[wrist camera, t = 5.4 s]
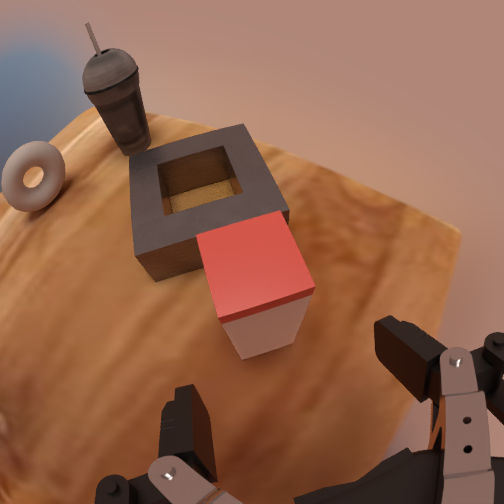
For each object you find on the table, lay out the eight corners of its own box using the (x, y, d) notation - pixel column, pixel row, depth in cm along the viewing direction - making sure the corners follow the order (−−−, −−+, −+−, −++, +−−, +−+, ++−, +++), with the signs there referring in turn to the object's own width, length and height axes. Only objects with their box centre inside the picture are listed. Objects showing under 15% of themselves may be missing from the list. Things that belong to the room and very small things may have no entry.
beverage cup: (135, 168, 34) (80, 31, 17) (104, 156, 37) (52, 40, 19) (170, 135, 37) (135, 5, 20) (137, 126, 39) (100, 14, 22)
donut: (72, 173, 36) (42, 123, 27) (80, 182, 34) (47, 129, 26) (24, 218, 32) (-13, 173, 23) (29, 229, 31) (-11, 184, 22)
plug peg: (293, 343, 23) (315, 286, 12) (241, 360, 22) (218, 317, 12) (275, 296, 25) (280, 210, 15) (226, 311, 25) (195, 234, 14)
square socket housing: (286, 242, 28) (289, 209, 23) (155, 281, 26) (134, 256, 22) (246, 156, 34) (243, 123, 30) (143, 186, 33) (129, 156, 28)
